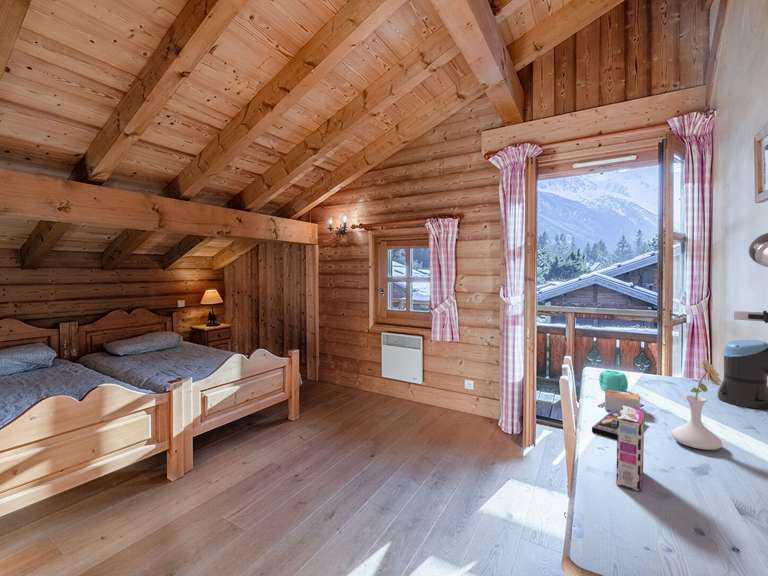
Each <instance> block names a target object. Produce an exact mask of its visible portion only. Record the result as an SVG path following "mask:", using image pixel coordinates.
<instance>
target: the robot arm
mask: <svg viewBox="0 0 768 576" xmlns="http://www.w3.org/2000/svg"><path fill="white" fill-rule="evenodd" d="M748 255H749V257H750V258H751V260H752V261H753V262H754V263H757V264H758V265H760V266H761V267H764V268H768V232H767V233H766V232H765V233H763V234H761V235H759V236H758V237H756V238H755V239H753V241H752V242H751V244H750V245H749V247H748ZM733 320H734V321H735V320H736V321H751V322H752V321H753V322H764V323H765V324H767V323H768V312H767V310H763V311H747V310H746V311H745V310H741V311H740V310H735V311H733ZM722 355H723V380H722V383H720V385H721V386H720V385H719V388H718V390H717V398H718V400H720V401H722V402H725V403H727V404H731V405H735V406H739V407H744V408H745V407H746V408H752V409H763V410H764V409H765V410H766V409H768V342H767V341H765V340H758V339H737V340H731V341H728V342H726V343H725V344H724V349H723V354H722Z"/></svg>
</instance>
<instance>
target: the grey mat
mask: <svg viewBox="0 0 768 576" xmlns="http://www.w3.org/2000/svg"><path fill="white" fill-rule="evenodd" d="M599 406H601V407H600V408H603V407H605V401H604V402H602V403H599V404H598V405H597V407H599ZM642 406H644V404H642V403H640V408H641V407H642Z"/></svg>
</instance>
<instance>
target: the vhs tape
mask: <svg viewBox="0 0 768 576" xmlns="http://www.w3.org/2000/svg"><path fill="white" fill-rule="evenodd" d="M619 413H620V412H615V411H609V412H608V413H607V414H605V416H603V417H602V418H601V419H600V420H599V421H598V422H596V423H595V424H594V425H593V426H591V433H592V432H593V433H592V434H595V433H597V434H596V435H599V434H601V435H600V436H602V435H603V437H606V436H607V437H606V438H609V437H610V438H609V439H614V440H616V441H617V417H618V415H619ZM645 424H646V423H645V418H644V425H645Z"/></svg>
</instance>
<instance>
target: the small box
mask: <svg viewBox="0 0 768 576" xmlns="http://www.w3.org/2000/svg"><path fill="white" fill-rule="evenodd" d="M604 402H605V408H604V409H605V411H608V412H611V411H614V412H618V413H620V410H621V408H622V406H628V407H634V408H639V409H641V407H640V404H641V399H640V394H639V393H635V392H627V391H626V392H620V391H613V390H606V391H605V393H604Z"/></svg>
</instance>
